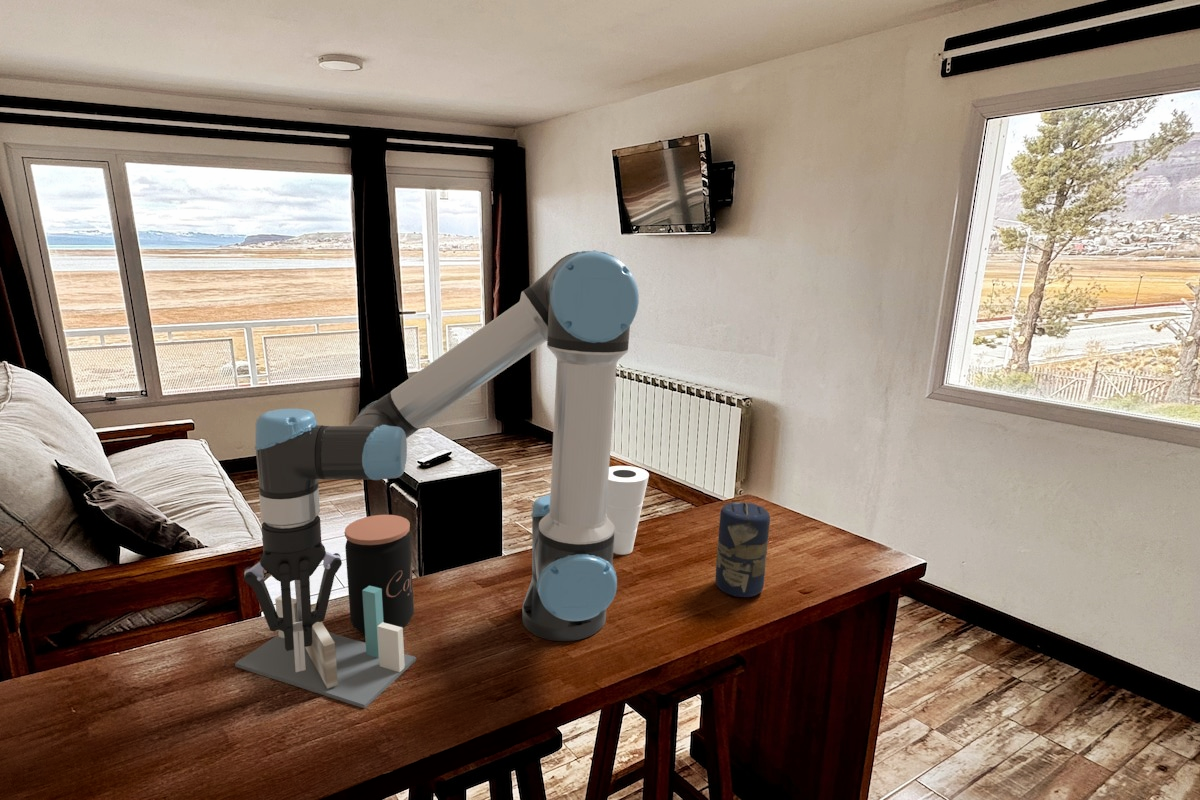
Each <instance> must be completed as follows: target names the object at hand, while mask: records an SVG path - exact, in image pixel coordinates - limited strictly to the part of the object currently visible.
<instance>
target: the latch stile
mask: <svg viewBox="0 0 1200 800" xmlns="http://www.w3.org/2000/svg"><path fill="white" fill-rule="evenodd" d="M362 594H363V609H364V625H365V635H364V637H365V643H366V655H370V656H373V657H376V658H379V647H378V630H377V626H378V625H380V624H381V623H382V622H383V604H382V589H381V588H377V587H373V586H368V587H366V588H365V589H364V590H362Z"/></svg>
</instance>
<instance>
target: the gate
mask: <svg viewBox="0 0 1200 800" xmlns="http://www.w3.org/2000/svg"><path fill="white" fill-rule="evenodd" d="M314 610H315V608H314V607H313V606H312V605H311V612H312V611H314ZM301 616H302V611H301ZM328 632H329V631H328V630H327V628H326V627H325V624H324V623H323V621H322V622H316V623H315V624H313V626H312V641H313V643H312V645H311V646H308V647H305V648H306V650H307V652H308V654H309V656H310V658H311V659H312V661H313V663H314V665H315V667H316V669H317V670H318V672H319V674H320V676H321V678H322V680H323V682H324V683H325V685H326V687H327V689H328V688H331V687H333V686H336V685H338V679H337V666H336V653H335V642H334V641H333V639H332V638H331V636H330V634H329V633H330V632H329V633H328Z"/></svg>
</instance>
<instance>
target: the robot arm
mask: <svg viewBox="0 0 1200 800" xmlns="http://www.w3.org/2000/svg"><path fill="white" fill-rule="evenodd" d="M637 284H638V283H637V281H636V279H635V277H634V274H633V273H632V272H631V269H629V268H628V267H627V265H625V263H624V262H622V261H621V260H619V259H618V258H617V257H616V256H614V255H613V254H610V253H608V252H605V251H598V250H587V251H586V250H583V251H576V252H572V253H569V254H567V255H566V254H565V256H563V257H561V258H560V259H558V261H557V262H556V263H554V264H553V265H552V267H551V268H549V269H548V270H547V271H546V272H545V273H544V274H543V275H542V276H541V277H539V279H537V280H536V281H535V282H533V283H532V284H531V285H530V286H528V287H527V288H526V289H524V290H522V291H521V293H520V299H519V301H518V302H517V303H515V304H514V305H512V306H511V307H509V308H508V309H507V310H505V311H504V312H502V313H501V314H500V315H498V316H496V318H494V319H493V320H491V321H489V322H488V323H486V324H485V325H483V327H481V328H479V329H478V330H476V331H475V332H473V333H472V334H471V335H470V336H468V337H466V338H465V339H463V341H461V342H460V343H458V344H457V345H455V346H454V347H452V348H450V350H447V351H446V352H445V353H444V354H442V355H440V356H439V357H437V359H434V360H433V361H432V362H431V363H429V364H428V365H426V366H425V367H424V368H422V369H421V370H419V371H417V372H416V373H415V374H414V375H412V376H411V377H409V378H408V379H406V380H405V381H404V382H402V383H400V384H399V385H398V386H397V387H394V388H392V390H391V391H389V392H388V393H387V394H385V395H383V396H382V397H380V398H379V399H378V400H375V401H372V402H371V403H369V404H367V405H366V406H365V407H363V408H362V409H361V410H360V412H359V413H358V415H357V416H356V417H355V419H354V420H353V421H352V423H350V424H349V425H322V424H321V425H319V424H318V422H317V420H316V416H315V414H314V412H312V411H311V410H309V409H301V408H290V407H289V408H280V409H274V410H269V411H265V412H264V413H262V414H261V415H259V416H258V418H256V421H255V445H254V450H255V456H256V466H257V475H258V476H257V477H258V491H259V492H258V493H259V494H258V496H259V497H258V498H259V510H260V520H261V521H262V523H261V535H262V536H261V538H262V553H261V554H260V556H259V561H258V562H257V563H255V564H254V565H253V566H247V567H246V568H245V569H244V573H243V574H244V576H243V581H244V582H245V583H246V584H247V585H248V586H249V587H250V588H252V589H253V591H254V594H255V597H256V599H257V601H258V603H259V606H260V608H261V609H260V610H261V611H262V613H263V616H264V619H265V621H266V623H267V626H268V628H269V630H270V631H271V632H277V631H278V630H281V631H283V632H284V638H285V649H286V650H287V651H290V650H294V656H295V671H296V672H299V671H304V670H306V668H305V651H304V647H308V646H311V645H312V643H313V641H312V626H313V624H315V623H316V622H322V623H323V622H324V621H325V618H326V616H327V615H326V614H327V609H328V605H329V601H330V597H331V593H332V589H333V584H334V581H335V580H334V579H335V576H336V573H338V571H339V569H340V568H341V566H342V565H343V563H342V558H341V555H340V553H335V552H334V553H331V552H329V551H327V550H326V547H325V546H324V544H323V542H322V530H321V529H322V528H321V517H320V516H319V515H320V512H321V508H320V506H321V505H320V491H319V489H320V488H319V487H320V485H319V480H372V481H380V480H390V479H397V478H400V477H401V476H402V475H403V474H404V472H405V470H406V464H407V455H408V454H407V453H408V451H407V449H408V447H407V446H408V442H407V439H408V438H409V437H411V436H412V435H413V434H414V433H416V432H417V431H418V430H420V429H421V428H422V427H424V426H425V425H426V424H428V423H430V422H431V421H432V420H434V419H436V418H437V417H438V416H440V415H441V414H443V413H444V412H445V411H447V410H449V409H450V408H451V407H453V406H455V405H456V404H457V403H458V402H460V401H462V400H463V399H464V398H466V397H467V396H468V395H471V393H473V392H475V391H476V390H477V389H479V388H480V387H482V386H483V385H484V384H486V383H487V382H489V381H490V380H492V379H493V378H495V377H496V376H497V375H500V373H502V372H504V371H505V370H507V368H509V367H511V366H512V365H513V364H515V363H517V362H518V361H520V360H521V359H522V358H524V357H525V356H527V355H528V354H530V353H531V352H532V351H534V350H535V349H537V348H539V347H540V346H541V345H542V344H544V343H545V342H547V343H546V347H547V348H548V349H549V350H550V351H551V353H552V354H553V355H554V356H555V358H556V371H555V373H556V375H555V391H554V392H555V393H554V395H555V397H554V398H555V399H554V413H553V432H552V433H553V434H552V451H551V454H552V455H551V471H550V472H551V475H550V476H551V477H550V494H547V495H543V496H540V497H538V498H537V499H535V500H534V501H533V502H532V503H533V504H532V511H531V514H530V516H531V517H532V518H531V519H532V521H531V523H532V524H531V530H532V531H531V535H532V537H531V539H532V541H531V542H532V543H531V545H532V547H531V552H532V553H531V556H532V559H531V561H532V562H531V580H530V584H529V585H528V586H529V587H528V589H527V592H526V595H525V597H524V600H523V603H522V610H521V611H522V614H521V615H522V616H521V617H522V624H523V625H524V627H525V628H526V629H527V631H529V632H530V633H531V634H533V635H534V636H536V637H539V638H541V639H545V640H548V641H554V642H572V641H573V642H574V641H579V640H583V639H586V638H589V637H591V636H593V635H595V634H596V633H598V632H599V631H601V629H602V628H603V627H604V625H605V624H606V621H607V609H608V607H609V606H611V604H612V602H613V601H614V599H615V598H616V597H615V596H616V595H617V590H618V577H617V572H616V570H615V568H614V565H613V563H614V559H613V558H614V553H613V549H614V533H615V526H614V524H613V523H612V522H611V521H610V520H609V519H608V517H607V516H606V506H607V492H608V477H609V467H610V463H611V462H610V461H611V460H610V459H611V449H612V448H611V447H612V433H613V432H612V431H613V421H614V420H613V418H614V406H615V405H614V404H615V387H616V375H617V363H618V361H620V359H621V358H622V357H624V356H625V354H627V353H628V351H629V341H630V330H631V329H630V328H631V325H632V323H633V322H634V319H635V317H636V314H637V312H638V307H639V302H640V301H639V300H640V299H639V298H640V296H639V294H640V293H639V289H638V285H637ZM322 561H323V564H322ZM320 564H322V565H323V568H324V570H323V573H322V578H321V582H320V586H319V590H318V595H317V599H316V603H315V608H314V611H312V612H311V606H312V603H311V583H310V582H311V579H310V577H311V576H312V575H313V574H314V573H315V571H316V570H317V568H318V567H319V566H320ZM264 570H265V571H266V572H267V573H269V575H270V576H271V577H273V578H274V579H275V580H276V581H277V582H278V581H279V582H280V593H281V594H280V596H282V610H283V618H281V617H278V615H277V612H276V606H275V604H274V602H273V600H272V597H271V594H270V593H269V590H268V588H267V585H266V582H265V581H264V577H265V572H264ZM294 580H300V593H301V611H302V621H301V622H296V623H293V619H292V604H291V598H292V592H291V583H292V582H293V581H294ZM294 582H295V581H294Z"/></svg>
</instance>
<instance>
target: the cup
mask: <svg viewBox="0 0 1200 800" xmlns="http://www.w3.org/2000/svg"><path fill="white" fill-rule="evenodd" d="M649 477H650V473H649V472H648V471H647V470H645V469H644V468H641V467H637V466H632V465H631V466H630V465H615V466H609V477H608V492H607V506H606V516H607V517H608V519H609V520H610V521H611V522H612V523H613V524H614V526H615V533H614V549H613V554H616V555H620V556H623V555H629V554H631V553H632V552H633V550H634V545H635V540H636V535H637V531H638V526H639V523H640V518H641V512H642V508H643V505H644V499H645V495H646V490H647V486H648V482H649Z"/></svg>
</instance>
